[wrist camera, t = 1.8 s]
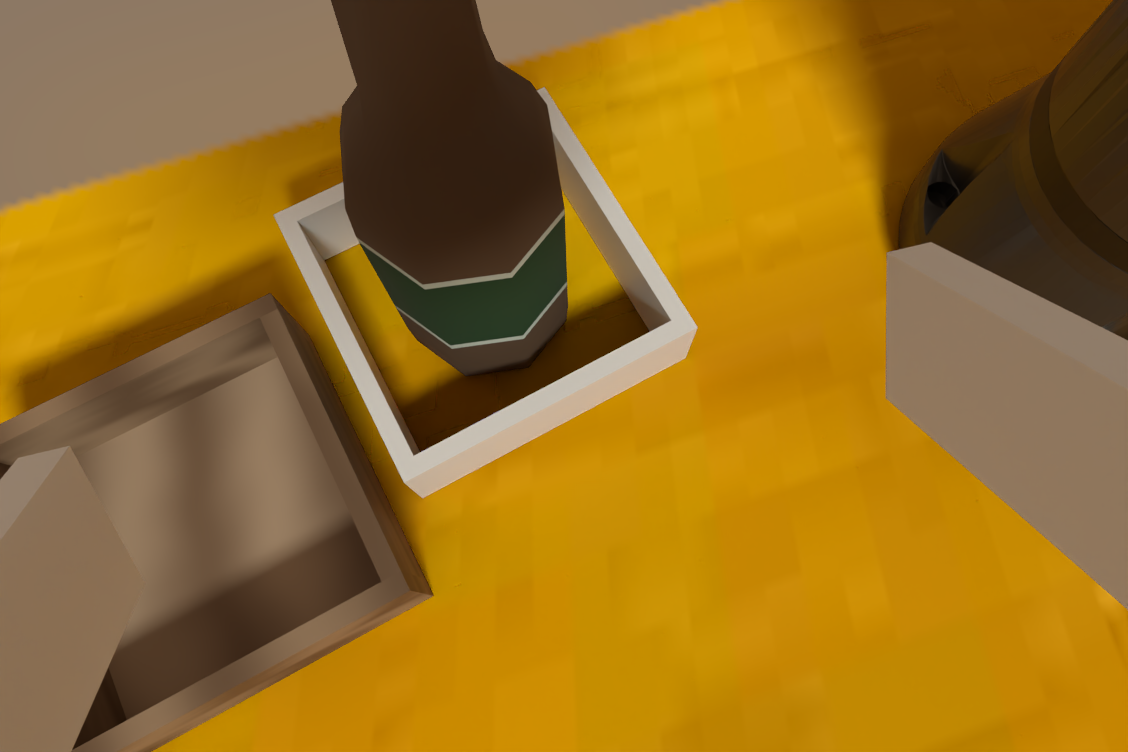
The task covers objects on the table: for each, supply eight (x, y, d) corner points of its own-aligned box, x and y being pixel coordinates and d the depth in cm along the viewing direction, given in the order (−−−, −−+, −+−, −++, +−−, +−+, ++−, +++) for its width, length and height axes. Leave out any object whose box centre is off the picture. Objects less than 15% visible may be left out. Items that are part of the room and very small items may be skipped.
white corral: (547, 136, 41) (544, 86, 38) (685, 357, 38) (697, 327, 34) (302, 254, 40) (273, 214, 36) (422, 498, 36) (404, 482, 32)
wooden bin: (308, 334, 38) (270, 293, 34) (433, 595, 35) (410, 590, 30) (32, 471, 37) (-50, 447, 32) (133, 761, 33) (57, 783, 28)
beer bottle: (547, 400, 37) (496, 35, 14) (386, 361, 38) (93, -47, 15) (588, 251, 39) (601, -273, 17) (435, 216, 40) (245, -331, 17)
